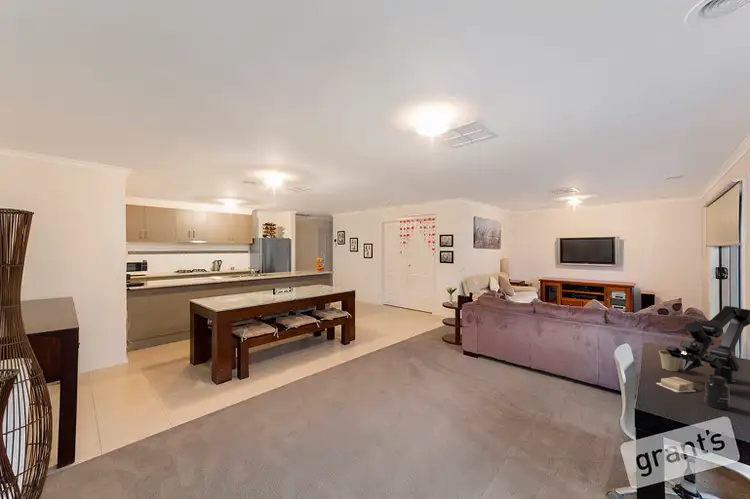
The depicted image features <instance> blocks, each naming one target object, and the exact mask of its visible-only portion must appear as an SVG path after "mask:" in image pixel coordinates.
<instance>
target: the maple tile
mask: <svg viewBox="0 0 750 499" xmlns="http://www.w3.org/2000/svg"><path fill="white" fill-rule="evenodd" d="M660 383H661V384H662V385H665V386H667V387H670V388H673V389H676V390H679V391H680V390H686V389H693V390H694V388H695V383H694V382H692V381H689V380H687V379H684V378H681V377H677V376H671V377H664V378H663V377H662V378H660Z"/></svg>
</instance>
